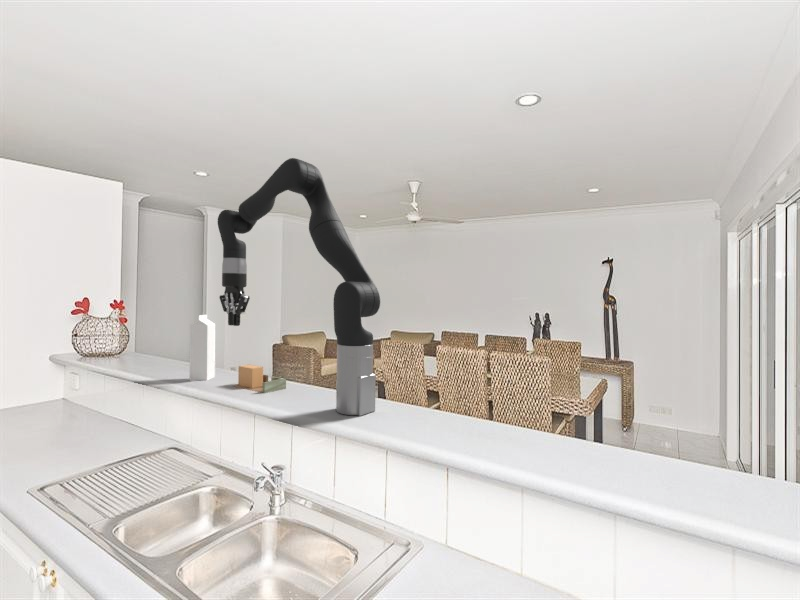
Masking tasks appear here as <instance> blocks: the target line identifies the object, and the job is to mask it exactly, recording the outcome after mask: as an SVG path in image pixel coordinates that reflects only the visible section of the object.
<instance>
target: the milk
mask: <svg viewBox="0 0 800 600" xmlns="http://www.w3.org/2000/svg"><path fill="white" fill-rule="evenodd" d="M215 377H216V323H215V322H213V321H212V320H210V319H208V314H200V315H198V319H197V320H196V321H194V322H192V323H190V324H189V382H196V381H209V380H211V379H214V378H215Z"/></svg>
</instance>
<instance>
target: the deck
mask: <svg viewBox="0 0 800 600" xmlns="http://www.w3.org/2000/svg"><path fill="white" fill-rule="evenodd" d="M270 379H271V380H269V375H268V374H263V386H260V387H255V388H250V387H245V386H241V385H238V384H235V385H233V387H235V388H240V389H244V390H248V391H254V392H258V393H261V394H262V393H263V394H268V393H272V392H276V391H281V390H286V389H287V378H283V377H278V376H271V377H270Z"/></svg>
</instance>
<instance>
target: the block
mask: <svg viewBox="0 0 800 600" xmlns="http://www.w3.org/2000/svg"><path fill="white" fill-rule="evenodd" d="M263 375H264V367H263V366H259V365H255V364H254V365H253V364H244V365H243V364H242V365H239V366H238V377H237V378H238V380H237V383H238V384H237V385H241V386H245V387H250V388H255V387H260V386H263Z"/></svg>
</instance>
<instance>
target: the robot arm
mask: <svg viewBox="0 0 800 600" xmlns="http://www.w3.org/2000/svg"><path fill="white" fill-rule="evenodd" d="M287 191H289V192H292V193H295V194H297V195H298V194H299V195H301V196H303V197H304V199H305V200H306V202H307V205H308V206H309V209H310V217H309V220H308V221H309V222H308V223H309V224H308V232H309V235H310V237H311V239H312V242H313V244H314V246H315V248H316V250H317V252H318V254H319V255H320V256H321V257H322V258H323V259H324V260H325V261H326V262H327V263H328V264H330V266H331V267H332V268H333V269H334V270H335V271H336V272H337V273H339V275H340V276H341V277H342V279H343V280H344V281H343V282H341V283H339V285H337V287H336V289H335V291H334V294H333V302H332V303H333V325H334V326H333V329H334V333H335V337H336V382H335V383H336V388H335V390H336V395H335V396H336V397H335V398H336V399H335V400H336V401H335V403H336V405H335V406H336V409H335V410H336V412H337V413H338V414H341V415H346V416H348V415H349V416H364V415H366V414H369V413H372V412H375V411H376V386H377V385H376V378H377V376H376V375H377V374H376V373H373V369H374V368H373V367H374V365H373V364H374V362H373V361H374V359H373V357H374V335H373V333H372V332H371V331H369V330H367V329H365V327H363V325H362V318H367V317H369V318H370V317H373V316H375V315H377V313H378V312H379V309H380V307H381V298H380V297H381V296H380V292H379V290H378V288H377V286H376V284H375V283H374V281H373V279H372V278H371V276H370V274H369V273H368V272H367V269H365V267H364V265H363V264H362V262H361V260H360V257H359V256H358V254H357V252H356V250H355V248H354V246H353V244H352V242H351V240H350V238H349V235H348V232H347V230H346V228H345V227H344V225H343V223H342V221H341V220H340V217H339V216H338V213H337V212H336V208H335V206H334V204H333V202H332V200H331V198H330V196H329V193H328V190H327V187H326V184H325V181H324V178H323V175H322V173H321V171H320V169H319V168H317V167H316V166H315V165H314V164H312V163H309V162H307V161H304V160H301V159H298V158H294V157H291V158H287V159H286V160H285V161H284V162H282V163H281V164H280V166H278V167H277V169H276V170H275V171H274V172H273V173H272V174H271V175H270V176H269V178H268V179H267V180H266V181H265V182H264V184H263V185H262V186H261V187H260V188H259V189H258V190H257V191H256V192H255V193H253V194H252V195H250V196H249V197H247V198H246V199H245V200H244V201H242V202H241V203H240V205H239V206H238V209H237V210H238V211H236V210H231V209H224V210H222V211H221V212H220V213H219V215H218V216H217V227H218V231H219V235H220V238H221V239H220V240H221V243H222V246H223V247H222V251H223V252H222V258H223V259H222V263H221V265H222V267H221V286H222V287H224V294H222V295H221V294H220V295H219V297H218V298H219V301H220V304H221V307H222V310H223V312H226V314H227V325H228V326H233V327H238V326H240V325H241V315H242V314H243V313H246V310H247V307H248V304H249V301H250V299H251V298H250V296H249V295H246V294H245V288H246V287H247V284H248V283H247V280H248V279H247V278H248V277H247V276H248V275H247V273H248V272H247V271H248V269H247V267H248V266H247V245H246V242H244V241H242V240H240V239H238V237H237V236H236V234H239V235H240V234H241V235H242V234H247V233H249V232H251V230H252V229H253V227H254V226H255V225H256V223H257V222H258V221H259V220H260V219H262V218H263V217H265V216H266V215H268V214H269V213H270V212H271V211H272V210H273V208H274V205H275V203H276V198H277V196H279V195H280V194H282V193H284V192H287Z"/></svg>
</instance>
